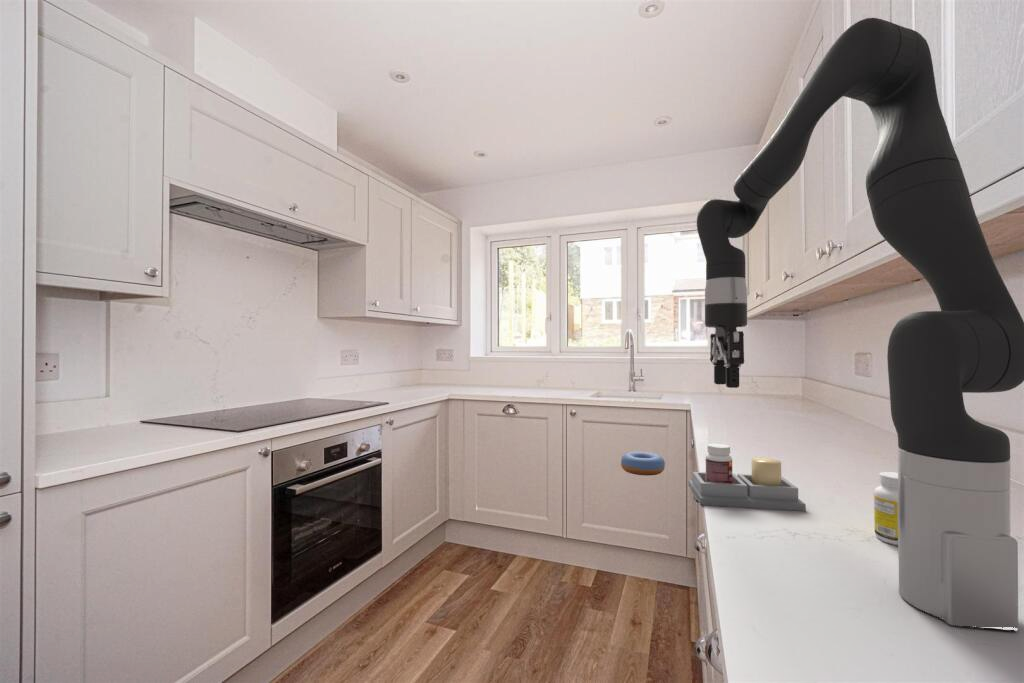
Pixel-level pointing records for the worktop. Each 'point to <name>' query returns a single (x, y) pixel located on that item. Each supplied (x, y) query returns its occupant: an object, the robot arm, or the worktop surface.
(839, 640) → the worktop surface
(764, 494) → the grey compartment tray
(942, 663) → the worktop surface
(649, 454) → the doughnut
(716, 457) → the pill bottle
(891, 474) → the supplement bottle
